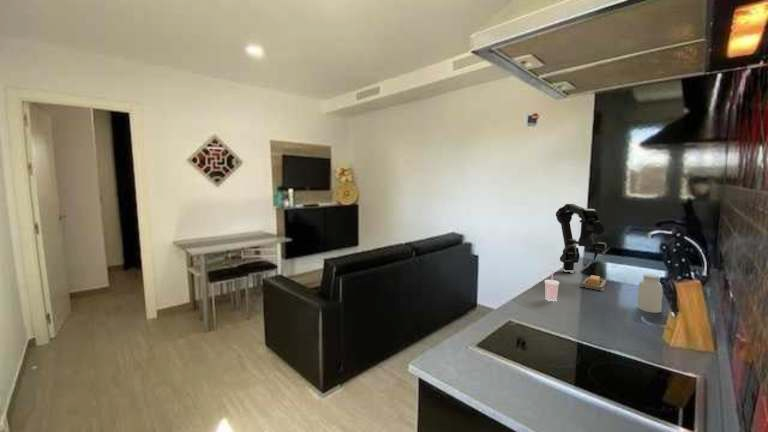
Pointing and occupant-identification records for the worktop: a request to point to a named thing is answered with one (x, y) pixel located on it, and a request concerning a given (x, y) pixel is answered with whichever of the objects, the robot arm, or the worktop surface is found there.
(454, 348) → the worktop surface
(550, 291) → the beverage cup
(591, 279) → the ochre bar
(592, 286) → the board
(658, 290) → the pill bottle
